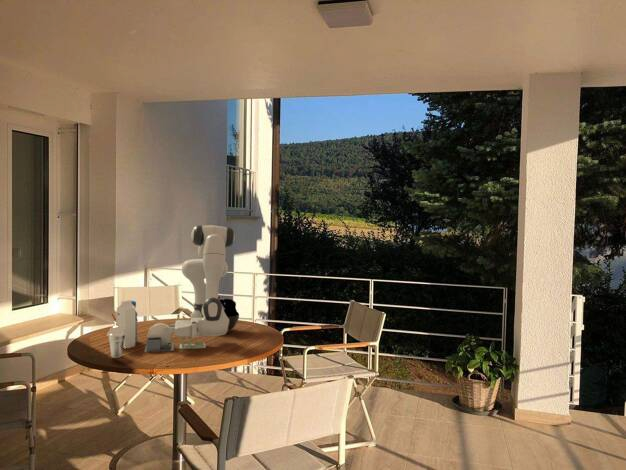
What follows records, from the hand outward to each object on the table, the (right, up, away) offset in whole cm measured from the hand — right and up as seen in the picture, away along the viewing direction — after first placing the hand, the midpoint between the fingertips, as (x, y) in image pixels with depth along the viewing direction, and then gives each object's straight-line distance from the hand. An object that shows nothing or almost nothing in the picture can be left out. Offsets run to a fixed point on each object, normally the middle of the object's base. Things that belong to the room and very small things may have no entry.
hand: (164, 328), depth 247 cm
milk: (-20, -10, +4) cm, 22 cm away
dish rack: (-2, -10, 0) cm, 10 cm away
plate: (-2, -9, 0) cm, 9 cm away
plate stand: (+12, -10, +3) cm, 16 cm away
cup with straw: (-17, -10, -14) cm, 25 cm away
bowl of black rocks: (+19, -10, +39) cm, 44 cm away
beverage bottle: (-22, -10, +15) cm, 28 cm away
